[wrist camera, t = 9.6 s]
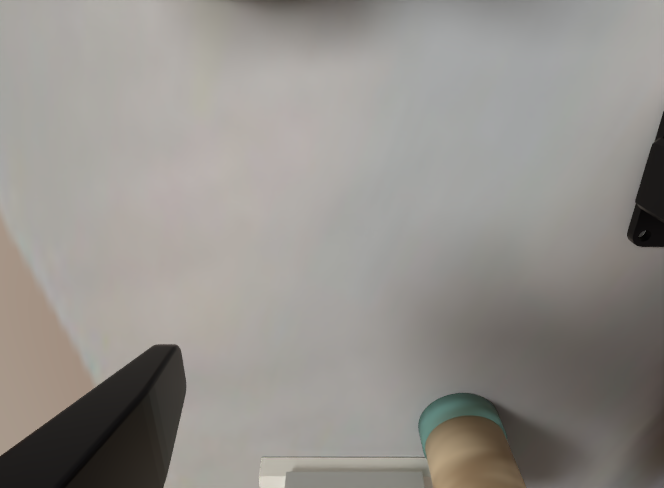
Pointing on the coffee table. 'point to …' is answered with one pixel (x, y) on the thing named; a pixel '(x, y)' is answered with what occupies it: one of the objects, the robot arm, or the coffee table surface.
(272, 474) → the socket board
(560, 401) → the coffee table surface
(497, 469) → the tan domed cylinder
